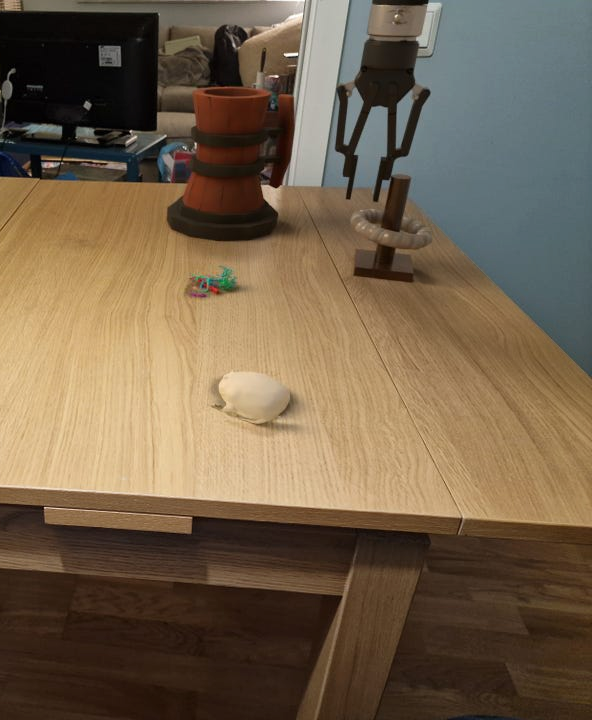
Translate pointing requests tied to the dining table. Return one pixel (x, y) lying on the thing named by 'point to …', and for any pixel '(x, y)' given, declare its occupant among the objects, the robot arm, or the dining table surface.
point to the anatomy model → (209, 280)
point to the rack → (385, 258)
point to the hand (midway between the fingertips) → (361, 198)
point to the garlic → (253, 396)
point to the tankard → (232, 165)
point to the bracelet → (367, 229)
